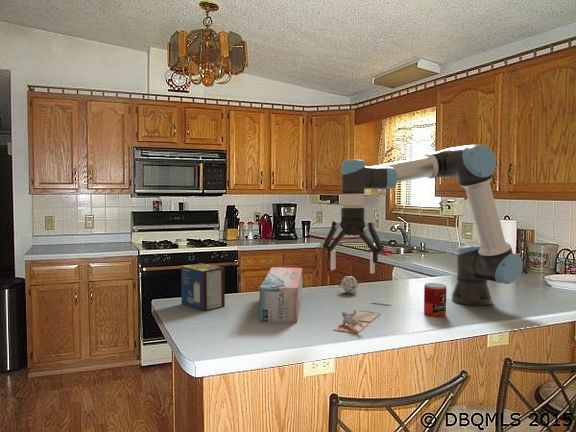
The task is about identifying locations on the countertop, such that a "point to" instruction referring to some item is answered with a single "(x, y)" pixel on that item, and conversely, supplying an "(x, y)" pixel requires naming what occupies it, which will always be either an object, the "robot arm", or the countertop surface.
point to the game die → (349, 284)
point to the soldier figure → (350, 321)
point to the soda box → (281, 295)
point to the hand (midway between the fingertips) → (352, 271)
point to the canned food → (435, 300)
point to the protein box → (202, 286)
